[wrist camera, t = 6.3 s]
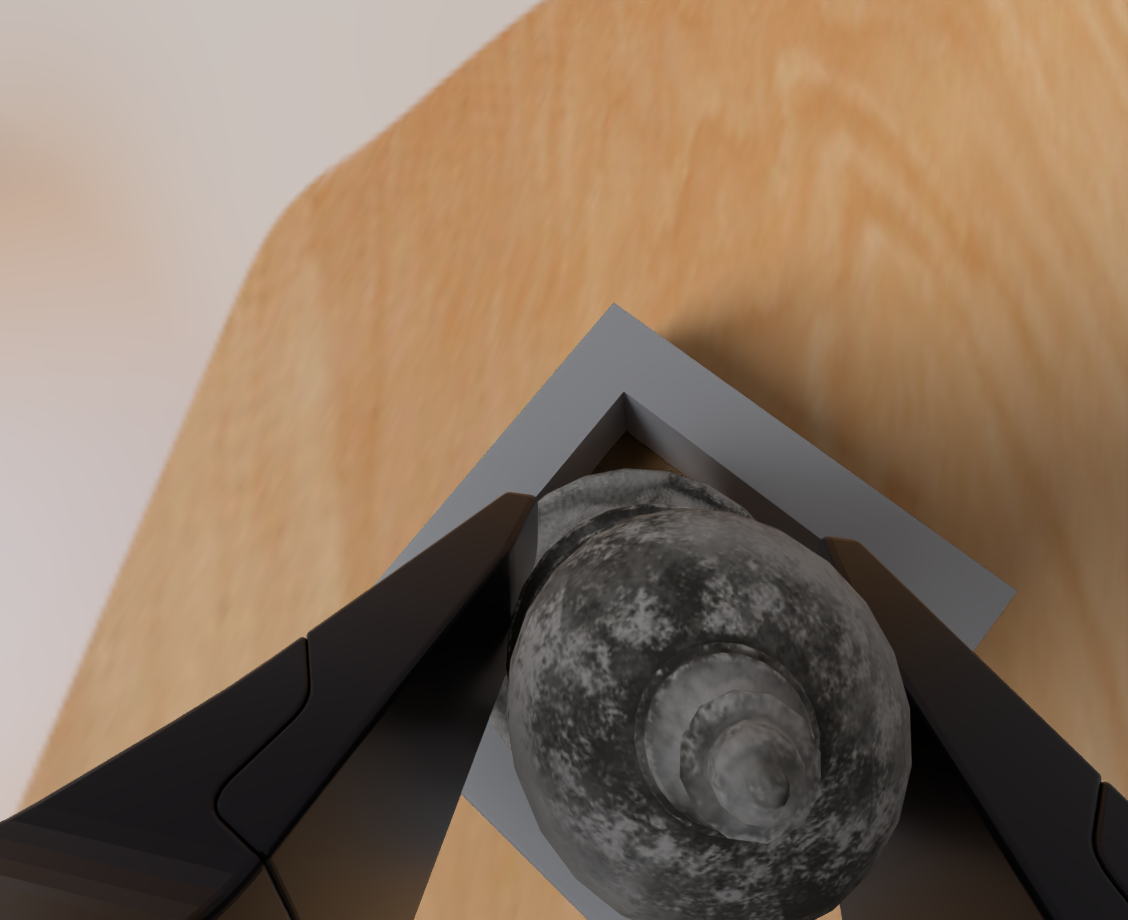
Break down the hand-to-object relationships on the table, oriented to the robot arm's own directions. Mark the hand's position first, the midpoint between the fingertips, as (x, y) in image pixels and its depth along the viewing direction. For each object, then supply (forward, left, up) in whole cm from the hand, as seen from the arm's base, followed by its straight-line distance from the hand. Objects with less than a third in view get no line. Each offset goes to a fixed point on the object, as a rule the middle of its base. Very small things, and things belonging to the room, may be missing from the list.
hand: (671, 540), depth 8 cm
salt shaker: (-2, 0, -7) cm, 7 cm away
